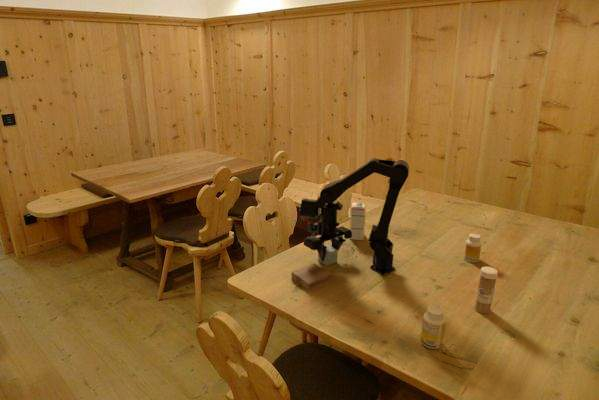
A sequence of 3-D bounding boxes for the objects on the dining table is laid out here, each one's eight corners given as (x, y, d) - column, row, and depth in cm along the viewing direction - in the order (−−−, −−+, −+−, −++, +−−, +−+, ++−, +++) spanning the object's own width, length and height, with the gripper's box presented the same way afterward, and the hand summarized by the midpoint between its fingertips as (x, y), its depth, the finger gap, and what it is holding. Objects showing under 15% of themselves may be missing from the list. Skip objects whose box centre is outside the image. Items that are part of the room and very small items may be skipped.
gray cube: (337, 261, 149) (337, 249, 147) (326, 265, 146) (327, 253, 145) (328, 256, 153) (328, 244, 151) (318, 260, 150) (318, 248, 148)
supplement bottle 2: (480, 263, 148) (484, 239, 145) (464, 262, 149) (468, 238, 146) (477, 256, 153) (481, 233, 150) (462, 255, 154) (465, 232, 151)
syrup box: (363, 240, 167) (365, 207, 162) (349, 239, 168) (350, 206, 163) (364, 234, 172) (366, 202, 167) (350, 233, 173) (351, 201, 168)
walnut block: (332, 282, 136) (333, 274, 135) (309, 292, 130) (309, 284, 129) (314, 270, 144) (314, 263, 143) (291, 279, 138) (291, 271, 137)
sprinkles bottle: (472, 310, 120) (478, 270, 116) (477, 303, 124) (483, 264, 119) (488, 316, 118) (495, 275, 113) (492, 309, 121) (500, 269, 117)
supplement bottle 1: (435, 335, 110) (440, 302, 106) (446, 348, 104) (451, 315, 101) (416, 337, 109) (420, 304, 105) (426, 351, 103) (430, 317, 100)
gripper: (333, 207, 155) (332, 244, 161) (294, 218, 145) (294, 257, 150) (353, 216, 147) (351, 254, 152) (313, 228, 136) (313, 269, 142)
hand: (327, 258), depth 149 cm, fingers closed on gray cube, 5 cm apart
